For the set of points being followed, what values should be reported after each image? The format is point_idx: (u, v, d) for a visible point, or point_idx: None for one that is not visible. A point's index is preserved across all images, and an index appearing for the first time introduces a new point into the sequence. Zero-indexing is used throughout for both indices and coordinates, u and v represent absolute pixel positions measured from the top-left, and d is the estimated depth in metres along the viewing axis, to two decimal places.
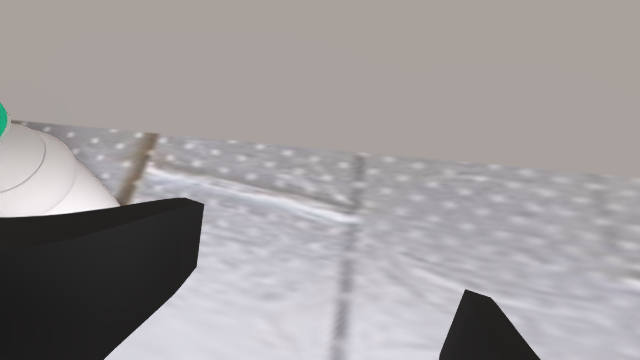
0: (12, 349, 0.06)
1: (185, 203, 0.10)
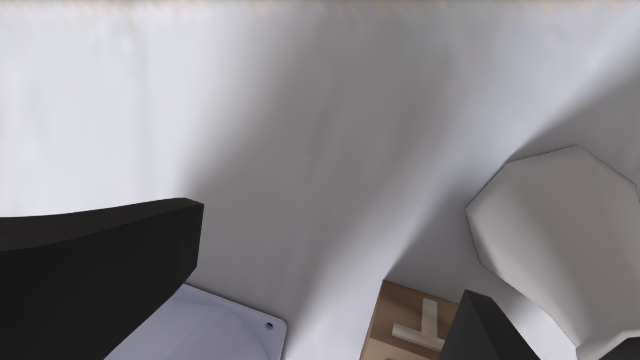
0: (12, 349, 0.06)
1: (185, 203, 0.10)
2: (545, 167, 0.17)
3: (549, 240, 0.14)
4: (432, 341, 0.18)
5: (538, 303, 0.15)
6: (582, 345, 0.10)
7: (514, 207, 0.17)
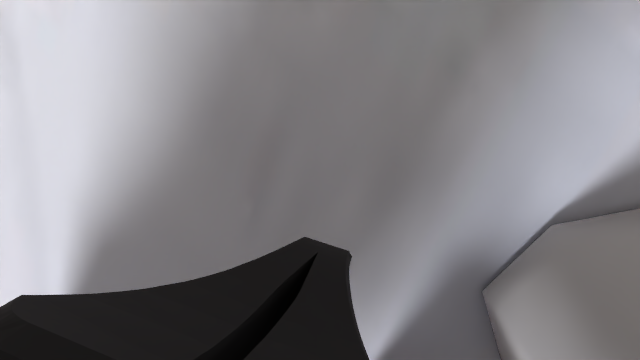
0: None
1: (313, 245, 0.10)
2: (620, 241, 0.10)
3: None
4: None
5: None
6: None
7: (572, 315, 0.10)
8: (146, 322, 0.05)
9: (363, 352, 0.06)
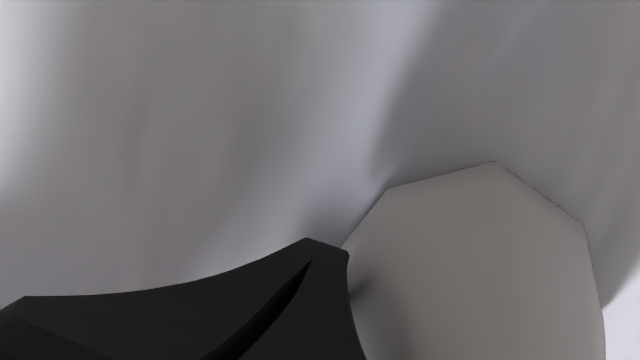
0: None
1: (315, 246, 0.10)
2: (438, 200, 0.10)
3: (414, 356, 0.07)
4: None
5: None
6: None
7: (381, 273, 0.10)
8: (149, 323, 0.05)
9: (360, 351, 0.06)
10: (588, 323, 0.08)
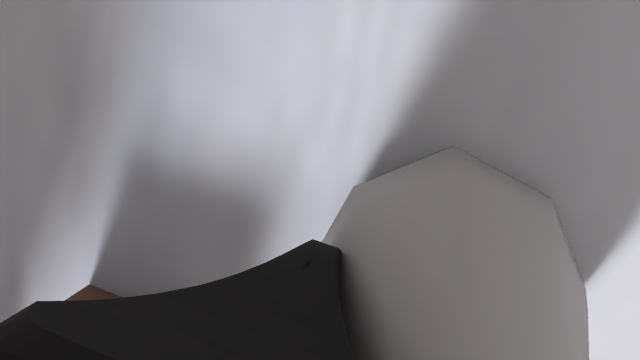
0: None
1: (322, 248, 0.10)
2: (400, 192, 0.10)
3: (383, 354, 0.07)
4: None
5: None
6: None
7: (352, 273, 0.10)
8: (160, 328, 0.05)
9: (347, 346, 0.06)
10: (557, 297, 0.08)
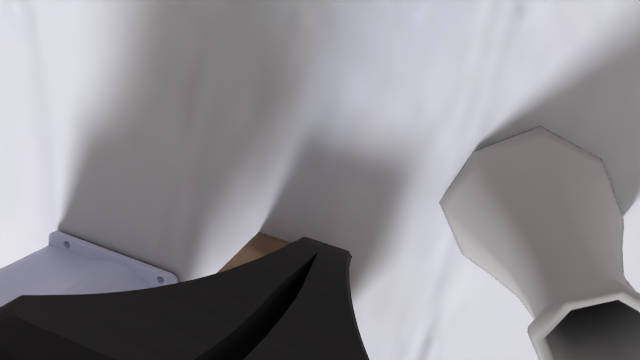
0: None
1: (313, 245, 0.10)
2: (508, 152, 0.17)
3: (510, 223, 0.14)
4: None
5: (508, 287, 0.15)
6: (532, 322, 0.10)
7: (480, 195, 0.17)
8: (146, 322, 0.05)
9: (363, 352, 0.06)
10: (604, 201, 0.15)
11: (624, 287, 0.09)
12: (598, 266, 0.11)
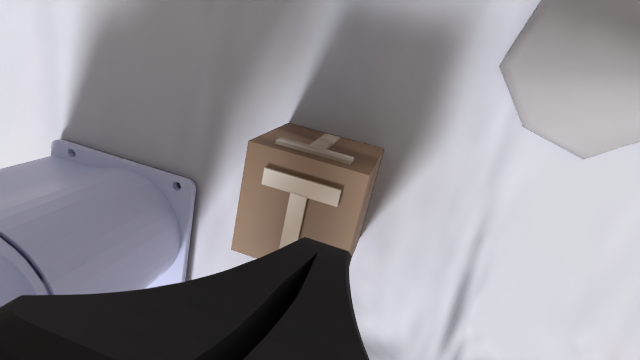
0: None
1: (313, 245, 0.10)
2: None
3: (611, 32, 0.12)
4: (318, 149, 0.17)
5: (607, 109, 0.12)
6: None
7: (560, 30, 0.15)
8: (146, 321, 0.05)
9: (363, 352, 0.06)
10: None
11: None
12: None
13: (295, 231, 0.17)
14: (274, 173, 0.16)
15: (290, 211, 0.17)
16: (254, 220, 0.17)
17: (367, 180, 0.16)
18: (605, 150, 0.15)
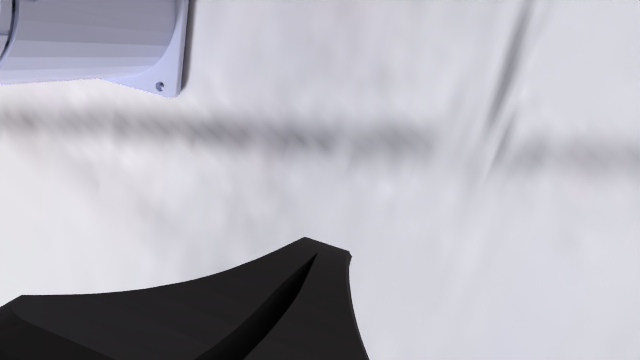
0: None
1: (313, 245, 0.10)
2: None
3: None
4: None
5: None
6: None
7: None
8: (146, 321, 0.05)
9: (363, 352, 0.06)
10: None
11: None
12: None
13: None
14: None
15: None
16: None
17: None
18: None
